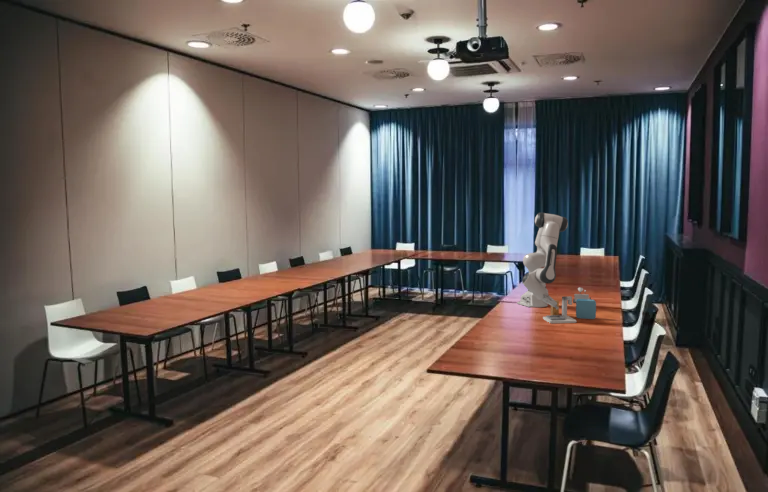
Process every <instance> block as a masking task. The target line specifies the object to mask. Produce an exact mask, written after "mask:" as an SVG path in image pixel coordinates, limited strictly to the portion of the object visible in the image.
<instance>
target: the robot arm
mask: <svg viewBox="0 0 768 492" xmlns="http://www.w3.org/2000/svg"><path fill="white" fill-rule="evenodd" d="M568 223H569V222H568V219H567V217H565V216H560V215H558V214H554V213H548V212H547V213H545V212H538V213H537V214H536V216H535V217H534V225H535V226H536V227H537V228H538V231H537V234H536V237H535V241H534V245H535V246H536V251H535V252H529V253H528V254H526V255H525V254H524V256H523V257H522V258H523V259H522V263H523V266H524V267H526V269H527V271H528V272H527V273H525V274H524V275H523V277H522V280H521V281H522V284H523V285H524V288H526V291H525V292H523V294H522V295H520V300H519V301H517V302H516V304H517V305H521V306H524V307H528V308H545V307H548V306H549V305H550V307H551V306H553V307H555V308H556V309H558V308H559V307H560V306H559V307H558V306H557V302H556V301H555V300H556V299H554V298H553V297H551V296H550V295H549V290H548V289H547V286H546V284H552V283H554V282H555V280H556V277H557V272H556V263H557V254H558V241H559V237H560V236H559V235H560V233H561V232H562V233H563V232H565V231H566V230H567V228H568V226H569V225H568ZM559 309H560V308H559Z"/></svg>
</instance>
